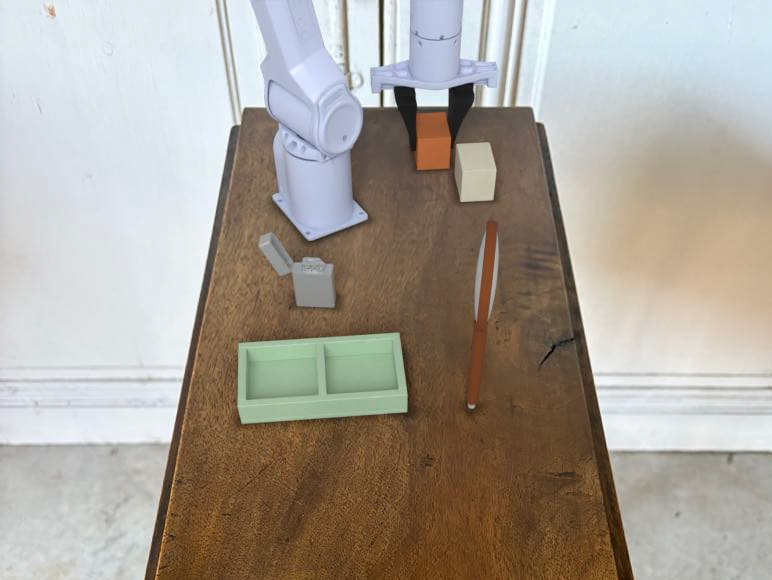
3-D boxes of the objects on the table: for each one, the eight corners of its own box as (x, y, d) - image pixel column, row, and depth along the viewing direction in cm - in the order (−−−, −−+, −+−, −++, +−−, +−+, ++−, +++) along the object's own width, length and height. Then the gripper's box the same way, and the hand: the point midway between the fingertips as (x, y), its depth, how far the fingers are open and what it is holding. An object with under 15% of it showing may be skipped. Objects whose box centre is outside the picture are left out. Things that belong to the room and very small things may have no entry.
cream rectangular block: (454, 174, 98) (456, 143, 94) (486, 172, 98) (489, 141, 95) (460, 202, 95) (462, 171, 91) (493, 200, 95) (496, 169, 92)
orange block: (412, 144, 101) (413, 113, 98) (443, 142, 101) (445, 111, 98) (417, 170, 98) (417, 139, 95) (449, 168, 98) (451, 137, 95)
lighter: (336, 296, 86) (330, 233, 79) (334, 307, 85) (328, 244, 78) (271, 293, 86) (260, 230, 79) (268, 304, 85) (257, 241, 78)
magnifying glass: (476, 442, 75) (499, 269, 58) (458, 441, 75) (476, 267, 58) (483, 376, 80) (506, 197, 63) (466, 374, 80) (484, 196, 63)
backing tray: (242, 360, 81) (238, 342, 79) (399, 350, 82) (399, 332, 80) (241, 424, 76) (237, 406, 74) (407, 412, 77) (407, 394, 75)
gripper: (495, 6, 89) (484, 124, 101) (366, 12, 89) (370, 130, 100) (505, 38, 86) (493, 157, 97) (371, 44, 85) (375, 163, 96)
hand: (431, 145), depth 98 cm, fingers closed on orange block, 4 cm apart
